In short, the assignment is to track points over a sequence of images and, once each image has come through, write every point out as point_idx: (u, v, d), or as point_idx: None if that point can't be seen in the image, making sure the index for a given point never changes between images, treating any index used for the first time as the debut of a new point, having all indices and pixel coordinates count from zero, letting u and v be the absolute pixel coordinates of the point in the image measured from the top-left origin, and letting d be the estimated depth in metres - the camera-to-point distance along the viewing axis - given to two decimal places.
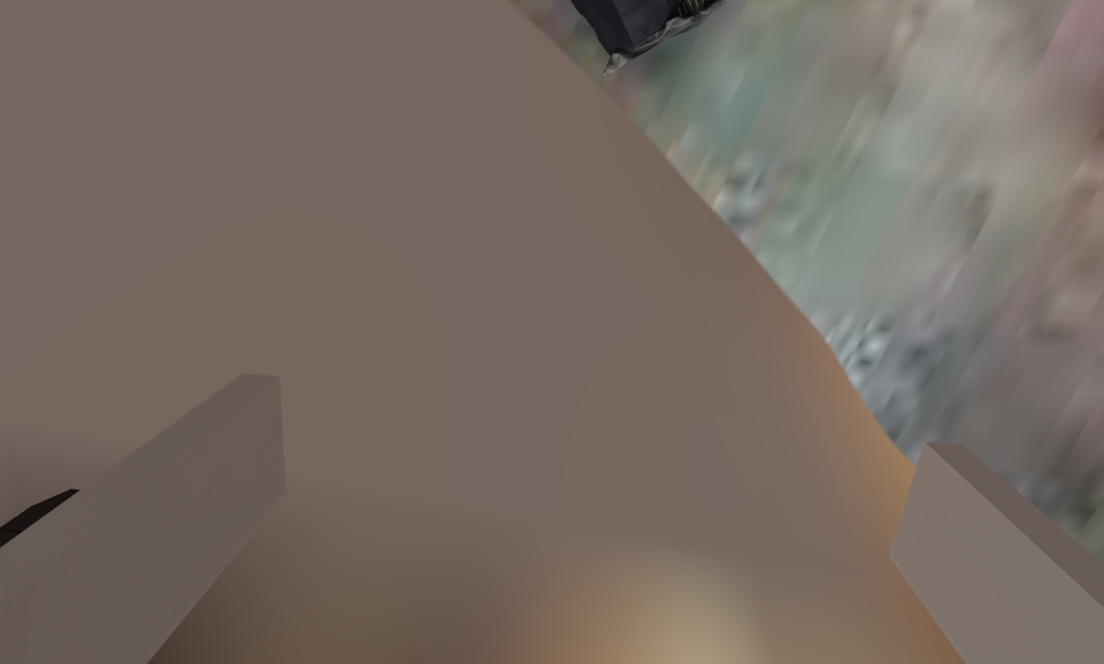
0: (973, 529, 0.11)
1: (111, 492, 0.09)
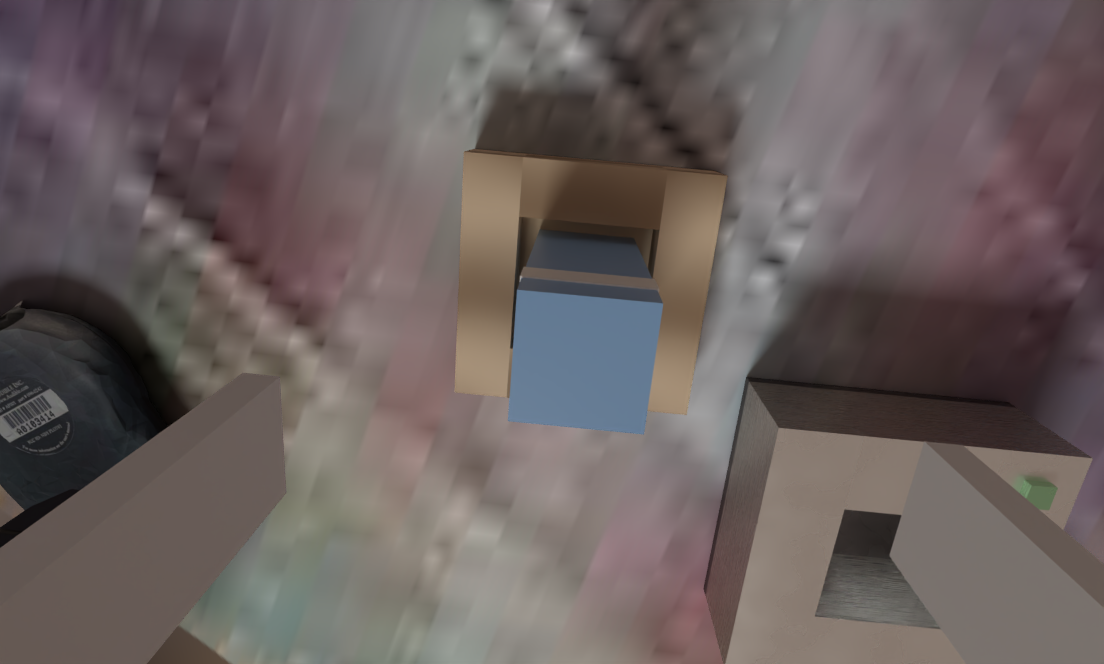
0: (974, 529, 0.11)
1: (111, 492, 0.09)
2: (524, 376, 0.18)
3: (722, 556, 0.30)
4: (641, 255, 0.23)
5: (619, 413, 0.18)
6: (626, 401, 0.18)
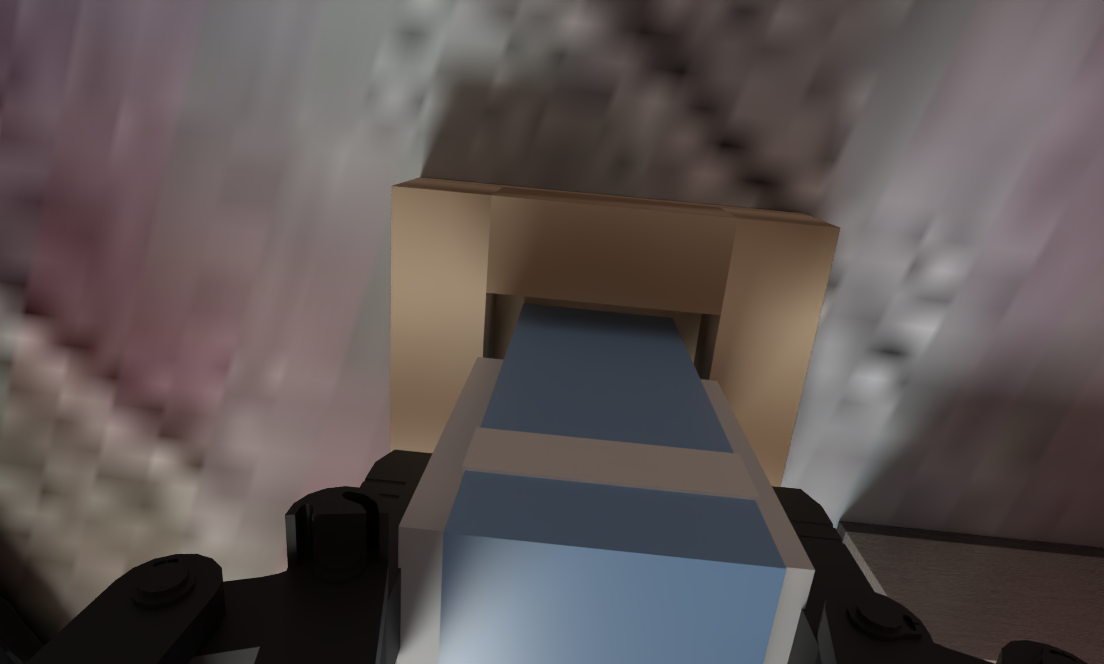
0: None
1: (460, 448, 0.11)
2: None
3: None
4: (694, 367, 0.13)
5: None
6: None
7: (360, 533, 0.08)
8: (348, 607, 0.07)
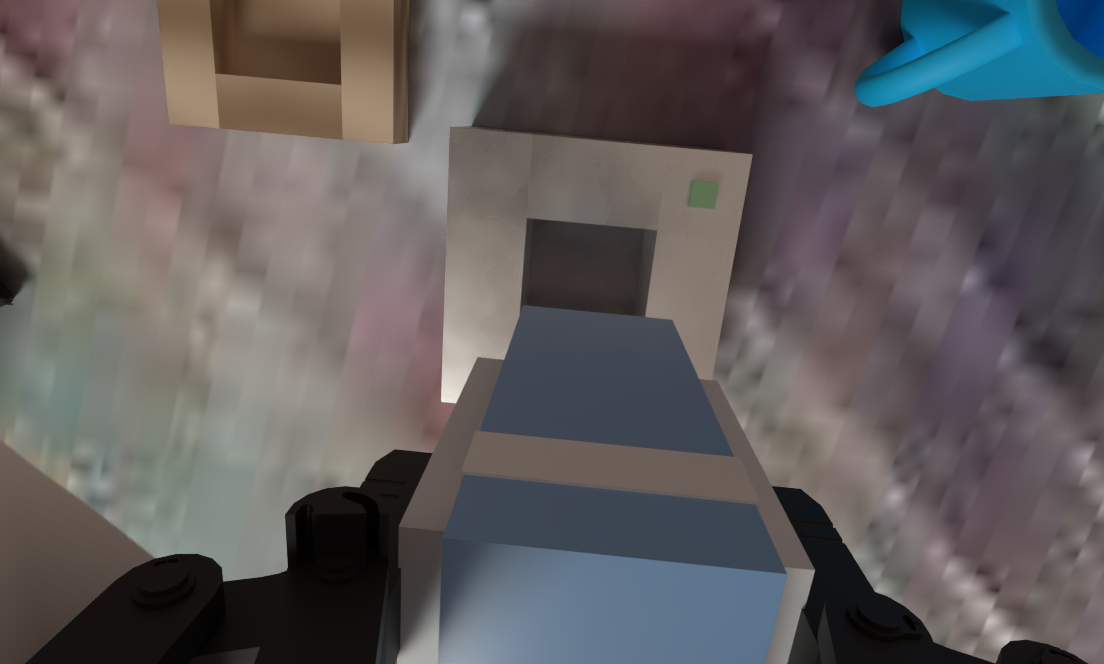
0: None
1: (460, 448, 0.11)
2: None
3: None
4: (694, 369, 0.13)
5: None
6: None
7: (360, 533, 0.08)
8: (348, 607, 0.07)
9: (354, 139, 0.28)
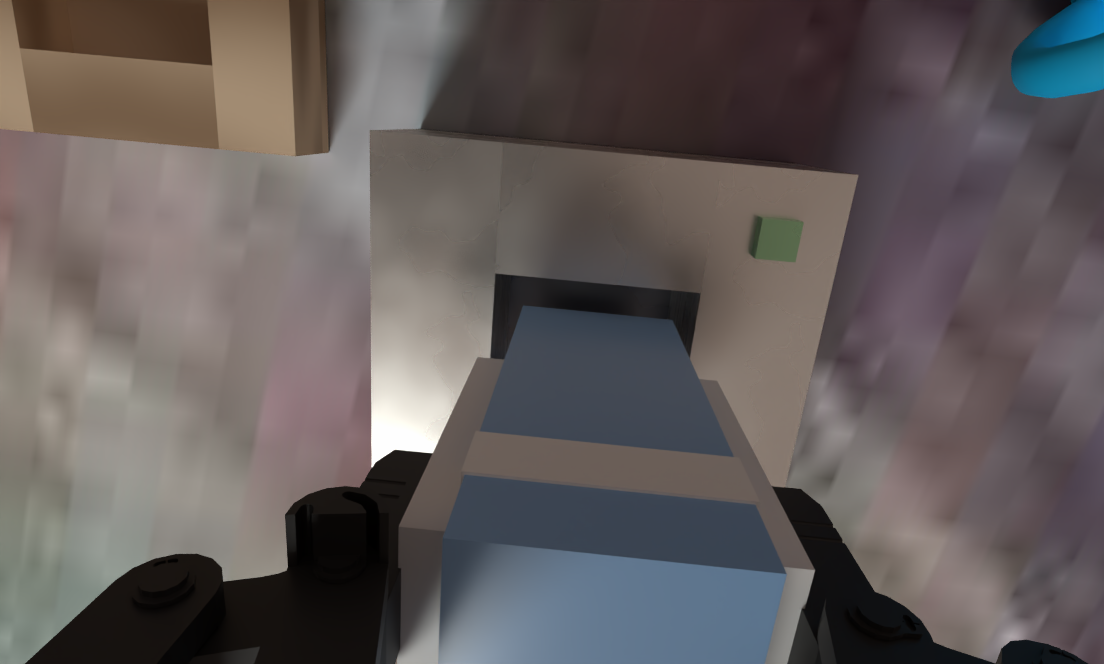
0: None
1: (461, 448, 0.11)
2: None
3: None
4: (694, 369, 0.13)
5: None
6: None
7: (360, 533, 0.08)
8: (348, 607, 0.07)
9: (236, 149, 0.18)
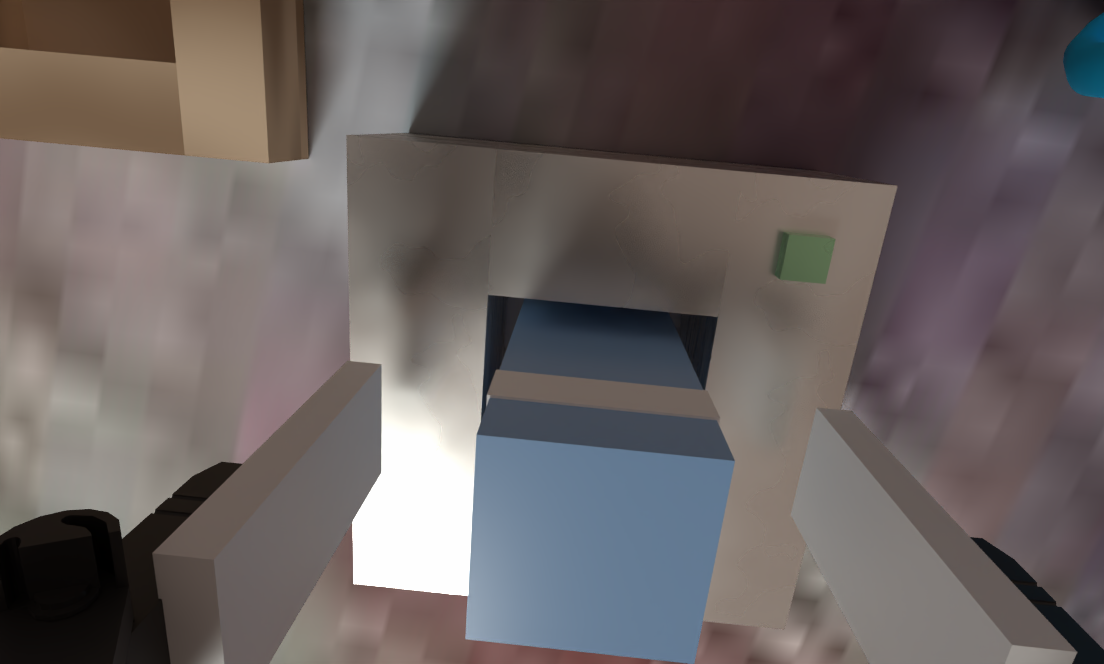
0: (846, 482, 0.12)
1: (274, 461, 0.10)
2: (491, 572, 0.10)
3: None
4: (676, 331, 0.16)
5: (653, 631, 0.11)
6: (665, 613, 0.11)
7: (87, 559, 0.07)
8: (74, 642, 0.06)
9: (204, 155, 0.16)
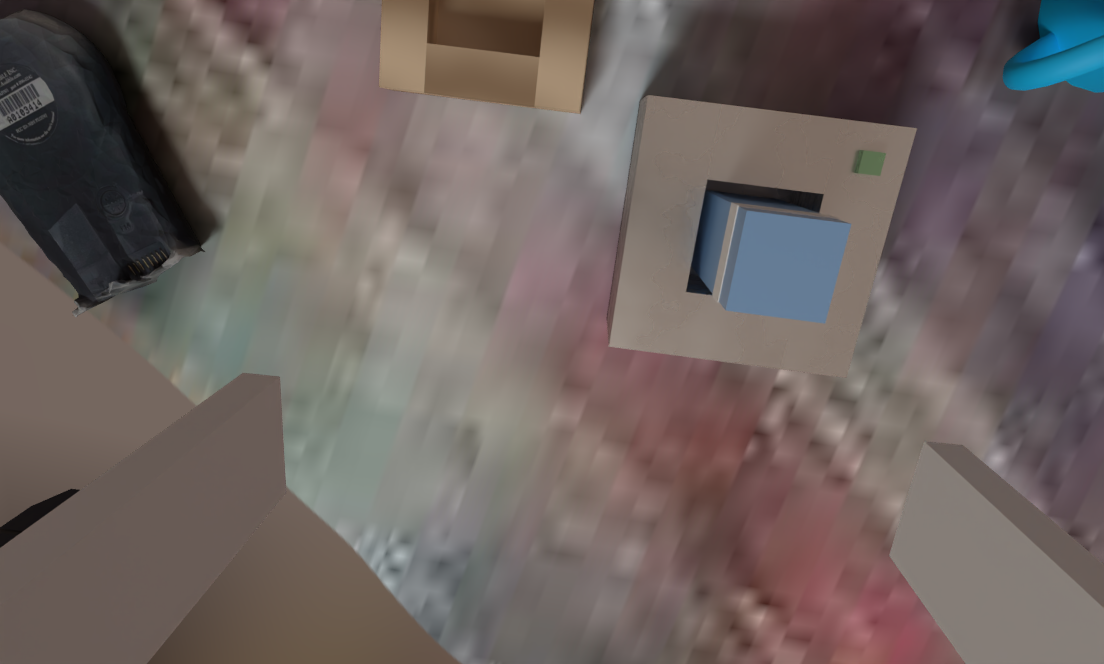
0: (974, 529, 0.11)
1: (111, 492, 0.09)
2: (742, 276, 0.25)
3: (616, 266, 0.34)
4: (798, 206, 0.30)
5: (809, 306, 0.25)
6: (815, 297, 0.25)
7: None
8: None
9: (545, 106, 0.31)
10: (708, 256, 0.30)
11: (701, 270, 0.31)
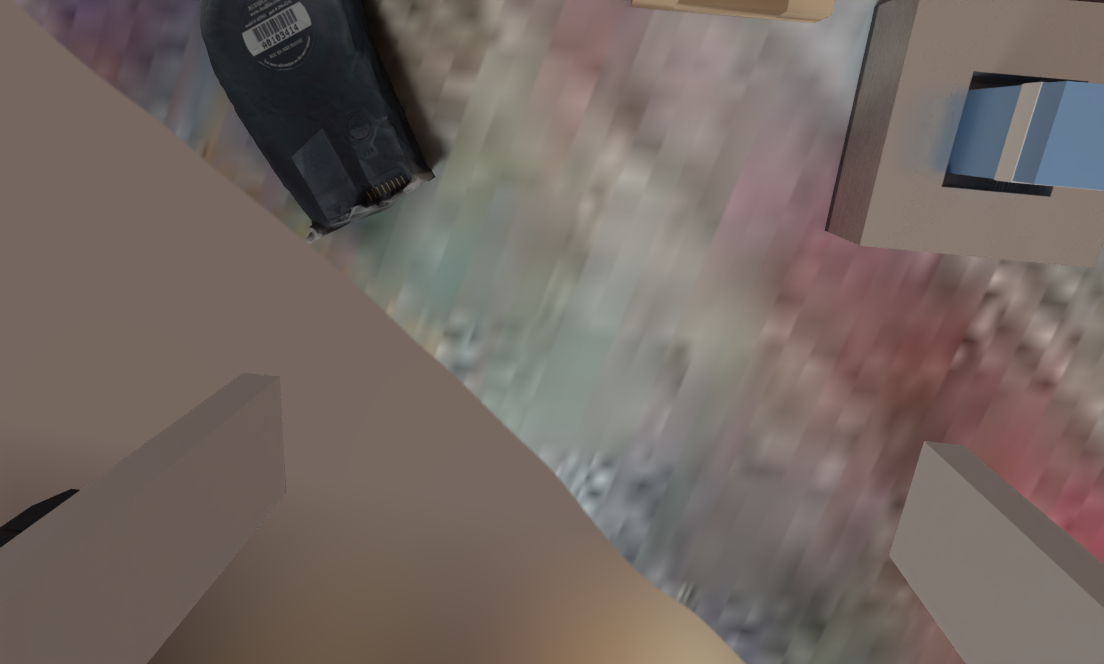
0: (974, 529, 0.11)
1: (111, 492, 0.09)
2: (1055, 148, 0.26)
3: (851, 172, 0.34)
4: None
5: None
6: None
7: None
8: None
9: (798, 11, 0.32)
10: (970, 148, 0.31)
11: (954, 166, 0.32)
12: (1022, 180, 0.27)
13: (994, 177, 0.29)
